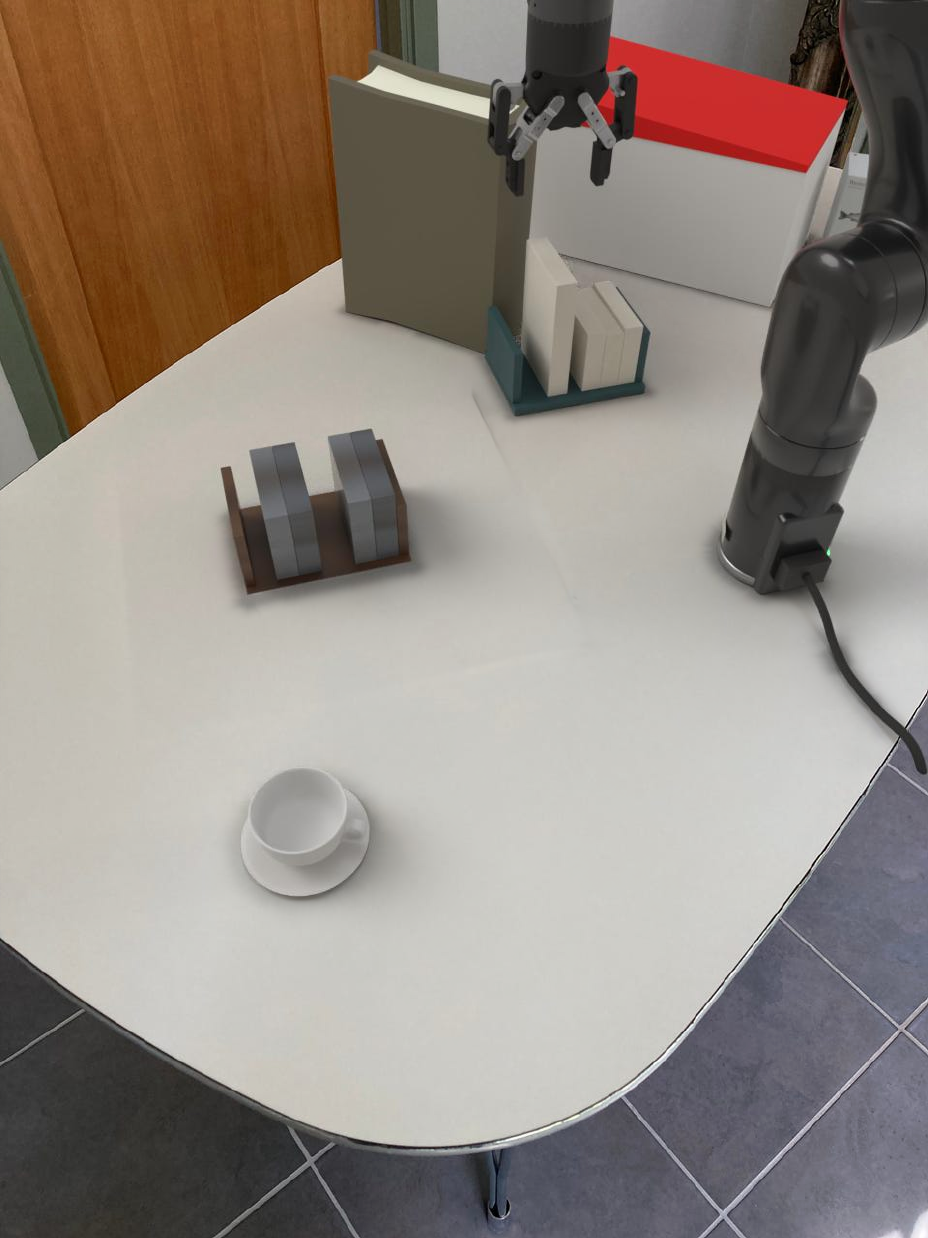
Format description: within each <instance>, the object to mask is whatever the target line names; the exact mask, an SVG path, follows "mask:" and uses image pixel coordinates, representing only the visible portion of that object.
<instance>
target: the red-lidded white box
mask: <svg viewBox="0 0 928 1238" xmlns="http://www.w3.org/2000/svg"><path fill="white" fill-rule="evenodd" d="M621 65H625V66H627V67H628V68H629V69H630V70H631V71H632V72H633V73H634V74H635V75H636V76H637V78H638V84H637V98H636V111H635V125H634V134H633V136H632V138H631V139H629V140H625V139H623V140H621V141H619V142H617V143H616V144H615V145H614V147H613V150H612V159H611V167H610V174H609V177H608V179H604V185H603V186H595V185H594V184H593V182H592V181H591V179H590V168H591V158H592V148H593V141H596V140H597V137H596V135H595V134H594V132H593V131H592V129H591V127H590V126H589V124H588V123H587V122H586V121H585V122H584V123H583V124H581V127H578V128H570V127H564V128H561V129H559V130H554V131H550V130H549V129H547V128H546V129H545V130H544V132H543V133H542V135H541V136H540V138H539V139H538V140H537V151H536V163H535V175H534V187H533V198H532V210H531V222H530V234H529V239H535V238H542V237H547V238H548V239H549V241H550V242H551V244H552V245H553V247H554V248H555V250H556V251H557V252H558V254H559V255H563V256H568V257H571V258H573V259H574V258H575V259H578V260H582V261H587V262H591V263H594V264H598V265H603V266H606V267H609V268H614V269H618V270H622V271H625V272H629V273H634V274H638V275H642V276H645V277H650V278H654V279H657V280H662V281H664V282H669V283H673V284H677V285H679V286H680V285H681V286H683V287H689V288H693V289H695V290H696V289H697V290H701V291H703V292H709V293H713V294H715V295H716V294H717V295H720V296H723V297H728V298H732V299H735V300H740V301H744V302H748V303H751V304H755V305H759V306H762V307H767V308H770V307H771V305H773V303H774V301H775V297H776V293H777V290H778V286H779V283H780V281H781V278H782V276H783V273H784V271H785V269H786V268H787V266H788V264H789V263H790V261H791V260H792V258H793V257H794V256H795V255H796V254H797V253H798V252H799V251H800V250H801V249H803V248H804V246H805V243H806V241H807V239H809V235H810V232H811V228H812V226H813V222H814V218H815V214H816V211H817V208H818V204H819V202H820V198H821V194H822V191H823V188H824V184H825V180H826V178H827V174H828V170H829V168H830V163H831V159H832V157H833V153H834V150H835V146H836V143H837V140H838V137H839V136H838V135H839V133H840V129H841V126H842V123H843V119H844V115H845V111H846V109H847V104H848V102H849V100H847V99H844V98H840V97H836V96H833V95H829V94H826V93H822V92H818V91H814V90H811V89H807V88H803V87H800V86H796V85H792V84H789V83H785V82H782V81H777V80H774V79H770V78H766V77H762V76H759V75H756V74H753V73H749V72H745V71H741V70H738V69H733V68H730V67H725V66H723V65H719V64H715V63H712V62H708V61H705V60H700V59H698V58H697V59H696V58H693V57H689V56H686V55H682V54H678V53H674V52H671V51H667V50H664V49H659V48H657V47H652V46H648V45H645V44H643V43H642V44H641V43H638V42H634V41H630V40H627V39H623V38H620V37H616V36H612V35H610V42H609V52H608V61H607V64H606V72H607V73H608V72H613V71H617V69H618V67H620V66H621ZM614 102H615V95H614V94H613V93H612V92H611V88H610V87H609V88H608V90H607V92H606V93H605V95H604V96H603V98H602V99H601V100H600V102H599V103H598V105H597V106H596V107H597V108H598V110H599V112H600V113H601V115H602V116H603V118H604V120H605V121H606V123H607V125H610V124H612V123H613V120H614Z"/></svg>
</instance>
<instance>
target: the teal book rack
mask: <svg viewBox="0 0 928 1238" xmlns="http://www.w3.org/2000/svg"><path fill="white" fill-rule="evenodd" d="M650 337H651V330H650V329H649V328H648V327H647V326H646V323H645V322H644V321H643V320H642V318H641V317H640V316H639V315H638V313H637V312H636V310H635V309H634V308H633V306H632V305H631V303H630V302H629V300H628V299H627V298H626V296H625V295H624V294H623V293H622V291H621V290H620V288H619V287H618V286H615V284H614V283H613V281H611V280H603V281H596V282H593V283H592V286H589V287H583V288H578V290H577V300H576V310H575V320H574V330H573V340H572V349H571V359H570V369H569V379H568V389H567V394H561V395H556V396H550V397H548V396H547V395H546V393H545V391H544V389H543V388H542V386H541V384H540V382H539V380H538V379H537V377H536V375H535V373H534V372H533V370H532V368H531V366H530V365H529V363H528V361H527V359H526V357H525V356H524V354H523V352H522V350H521V344H518V342H517V340H516V338H515V336H513V335H512V333H511V331H510V329H509V328H508V326H507V324H506V322H505V320H504V319H503V317H502V315H501V313H500V312H499V310H498V308H497V306H490V307H488V338H487V350H486V351H485V354H484V359H485V361H486V364H487V365H488V366H489V369H490V370H491V373H492V375H493V376H494V379H495V380H496V382H497V384H498V387H499V388H500V390H501V392H502V394H503V396H504V398H505V399H506V402H507V403H508V405H509V407H510V409H511V411H512V413H513V415H514V416H515V417H516V416H522V415H529V414H534V413H539V412H545V411H550V410H556V409H562V408H568V407H573V406H578V405H579V406H580V405H584V404H590V403H595V402H601V401H607V400H613V399H617V398H623V397H624V398H625V397H628V396H635V395H641V394H644V393H645V392H646V385H645V383H644V382H643V379H644V373H645V368H646V367H645V366H646V363H647V362H646V360H647V354H648V351H649V350H648V349H649V344H650Z"/></svg>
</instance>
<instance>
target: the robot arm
mask: <svg viewBox="0 0 928 1238" xmlns="http://www.w3.org/2000/svg"><path fill="white" fill-rule="evenodd" d="M614 1H615V0H526V3H527V12H526V14H527V17H526V18H527V19H526V38H525V39H526V40H525V70H524V75H523V77H522V79H521V81H520V82H509V83H508V82H503V80H502V79H501V78H495V79H494V80H493V81H492V82H491V84H490V85H491V93H490V107H489V121H488V135H487V142H488V144H489V145H490V147H491V148H492V149H493V151H494V152H495V154H496V155H498V156H502V155H504V156H506V171H505V182H506V184H507V186H508V188H509V189H510V191H511V192H513V194H514V195H515V197H520V196H523V195H524V177H525V159H524V158H523V156H524V155H525V153H526V152H527V150H528V149H529V148H530V146H531V145H532V143H533V142H536V141H537V140H538V139H539V138H540V136H541V135H542V133H543V132H544V130H545V129H546V128H547V129H549V130H550V131H554V130H559V129H561V128H564V127H570V128H578V127H581V124H583V123H584V122H585V121H586V122H587V123H588V124H589V126H590V127H591V129H592V131H593V132H594V134H595V135H596V137H597V140H596V141H593V148H592V158H591V168H590V179H591V181H592V182H593V184H594V185H595V186H603V185H604V179H608V177H609V174H610V167H611V159H612V150H613V147H614V145H615V144H616V143H617V142H619V141H621V140H623V139H625V140H629V139H631V138H632V136H633V134H634V125H635V111H636V98H637V84H638V78H637V76H636V75H635V74H634V73H633V72H632V71H631V70H630V69H629V68H628V67H627V66H625V65H621V66H620V67H618V69H617V71H613V72H608V73H607V72H606V64H607V61H608V52H609V42H610V36H611V32H612V22H613V14H614V13H613V12H614V11H613V10H614ZM838 10H839V12H838V28H839V29H838V30H839V40H840V45H841V50H842V54H843V58H844V62H845V64H846V67H847V71H848V75H849V77H850V80H851V83H852V86H853V88H854V92H855V94H856V97H857V100H858V102H859V105H860V108H861V111H862V115H863V119H864V121H865V125H866V129H867V130H866V131H867V137H868V138H867V139H868V155H869V163H868V172H867V180H866V187H865V193H864V198H863V203H862V208H861V212H860V216H859V219H858V222H857V225H856V228H854V229H851V230H848V231H845V232H842V233H839V234H836V235H834V236H831V237H828V238H825V239H822V238H821V239H819V240H816V241H815V242H811V243H810V244H808V245H806V246H803V247H802V249H801V250H800V251H799V252H798V253H797V254H796V255H795V256H794V257H793V258H792V260H791V261H790V263H789V264H788V266H787V268H786V269H785V271H784V273H783V276H782V278H781V281H780V283H779V286H778V290H777V293H776V297H775V298H774V300H773V304H772V310H771V315H770V319H769V323H768V324H769V325H768V327H767V328H768V329H767V333H766V337H765V342H764V346H763V350H762V351H763V352H762V356H761V361H760V371H759V373H760V384H761V396H760V399H759V400H760V401H759V403H758V407H757V410H756V414H755V418H754V421H753V425H752V427H751V431H750V433H749V436H748V437H749V438H748V440H747V444H746V447H745V448H746V449H745V451H744V454H743V455H744V456H743V459H742V461H741V465H740V468H739V472H738V475H737V479H736V482H735V486H734V490H733V493H732V497H731V500H730V503H729V507H728V510H725V511H724V514H723V518H722V522H721V523H722V524H721V525H722V526H721V527H722V530H721V533H720V535H719V537H718V542H717V547H716V549H717V550H716V552H717V556H718V559H719V560H720V563H721V565H722V566H723V567H724V568H725V570H726V571H727V572H728V573H729V574H731V576H733V577H734V578H735V579H737V580H739V581H741V582H743V583H744V584H746V585H749V586H751V587H752V588H754V590H755V592H756V593H757V594H759V595H763V594H767V593H773V592H777V591H781V592H783V591H784V592H785V591H787V590H792V589H797V588H801V587H805V586H806V588H807V590H808V592H809V594H810V596H811V598H812V600H813V603H814V604H815V607H816V609H817V612H818V614H819V617H820V619H821V623H822V627H823V630H824V633H825V636H826V640H827V642H828V645H829V648H830V651H831V654H832V656H833V659H834V661H835V663H836V665H837V668H838V669H839V671H840V673H841V674H842V676H843V678H844V679H845V681H846V682H847V683H848V685H849V686H850V687H851V688H852V690H853V691H854V692H855V693H856V695H857V696H858V697H859V698H860V699H861V700H862V701H863V702H864V703H865V705H866V706H867V707H868V708H869V710H870V711H871V712H872V713H873V714H874V715H875V716H876V717H877V718H878V719H879V720H880V721H881V722H882V723H884V724H885V725H886V726H887V727H888V728H889V729H891V730H892V731H893V732H894V733H895V734H896V735H897V736H898V737H899V738H900V739H901V740H902V741H903V743H904V744H905V745H906V747H907V749H908V750H909V752H910V755H911V757H912V759H913V762H914V766H915V769H916V772H918V774H920V775H923V776H926V775H927V774H928V767H927V762H926V759H925V756H924V754H923V753H924V752H923V751H922V749H921V747H920V744H919V743H918V741H917V740H916V738H915V737H914V736H913V735H912V733H910V732H909V730H908V729H907V728H906V727H905V726H904V725H902V724H901V722H899V721H898V720H897V719H896V718H894V716H892V715H891V714H890V713H889V712H888V711H887V710H885V708H884V707H882V706H881V704H879V702H878V701H877V700H876V699H875V698H874V697H873V695H872V694H871V693H870V692H869V691H868V689H867V688H866V687H865V686H864V685H863V684H862V682H860V681H859V679H858V678H857V676H856V675H855V673H854V672H853V670H852V669H851V667H850V665H849V664H848V662H847V660H846V658H845V656H844V654H843V651H842V648H841V646H840V643H839V640H838V637H837V635H836V631H835V627H834V624H833V620H832V617H831V615H830V611H829V609H828V606H827V605H826V602H825V600H824V597H823V596H822V594H821V592H820V589H819V588H818V586H817V584H819V583H823V582H824V580H825V578H826V576H827V574H828V571H829V569H830V566H831V564H832V562H833V561H832V558H831V557H830V554H831V551H830V547H831V545H832V542H833V540H834V538H835V535H836V534H837V533H836V532H837V530H838V528H839V525H840V523H841V521H842V518H843V517H844V514H845V509H844V507H842V505H841V503H840V501H841V498H842V496H843V494H844V491H845V489H846V486H847V483H848V481H849V479H850V476H851V474H852V471H853V469H854V466H855V464H856V461H857V459H858V457H859V454H860V452H861V449H862V447H863V444H864V442H865V439H866V437H867V434H868V432H869V431H870V428H871V425H872V422H873V420H874V418H875V415H876V412H877V409H878V396H877V392H876V390H875V388H874V386H873V385H872V384H871V382H870V381H869V380H868V379H867V378H866V377H865V376H864V375H863V374H861V373H860V372H861V369H862V366H863V364H864V361H865V359H866V357H867V356H868V355H869V354H871V353H873V352H876V351H878V350H881V349H883V348H886V347H889V346H891V345H893V344H895V343H898V342H900V341H902V340H904V339H906V338H908V337H911V336H912V335H914V334H917V332H918V331H920V330H921V329H923V328H924V327H925V326H926V325H927V324H928V0H839V9H838ZM609 87H610V88H611V92H612V93H613V94H614V95H615V102H614V120H613V123H612V124H610V125H607V123H606V121H605V120H604V118H603V116H602V115H601V113H600V112H599V110H598V108H597V107H596V106H597V105H598V103H599V102H600V100H601V99H602V98H603V96H604V95H605V93H606V92H607V90H608V88H609ZM520 97H522V98H523V99H524V101H525V102H526V104H527V105H526V107H525V108H524V110H523V111H522V113H521V114H520V116H519V117H518V119H517V122H516V126H515V128H514V129H513V131H512V132H511V134H510V135H509V137H508V127H509V115H510V110H512V109H514V107H515V105H516V102H517V100H518V99H519V98H520ZM534 118H536V119H535V120H534ZM533 120H534V122H533ZM532 122H533V123H532ZM907 731H908V732H907Z"/></svg>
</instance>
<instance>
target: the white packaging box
mask: <svg viewBox="0 0 928 1238" xmlns="http://www.w3.org/2000/svg"><path fill="white" fill-rule="evenodd" d="M868 163H869V153H868V154H867V153H861V152H852V151H848V152H847V155H846V158H845V162H844V165H843V168H842V170H841V175H840V178H839V181H838V184H837V187H836V190H835V195H834V197H833V201H832V204H831V206H830V211H829V214H828V217H827V220H826V223H825V227H824V230H823V233H822V238H821V240H822V239H825V238H828V237H831V236H834V235H836V234H839V233H842V232H845V231H848V230H851V229H854V228H856V225H857V222H858V219H859V216H860V212H861V208H862V203H863V198H864V193H865V187H866V180H867V172H868Z"/></svg>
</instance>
